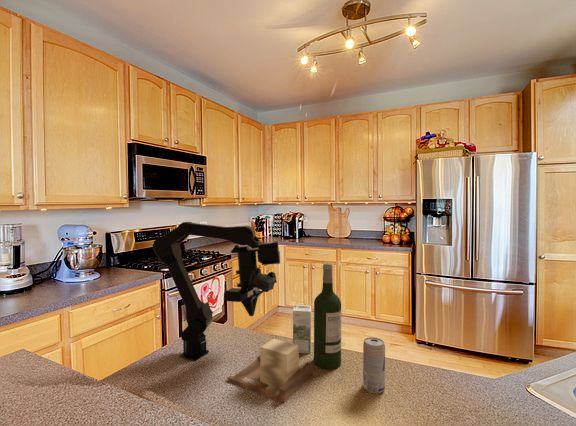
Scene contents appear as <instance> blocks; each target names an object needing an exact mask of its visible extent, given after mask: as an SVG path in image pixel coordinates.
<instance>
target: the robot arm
mask: <svg viewBox="0 0 576 426" xmlns="http://www.w3.org/2000/svg"><path fill="white" fill-rule="evenodd" d="M189 236H196V237H204V238H212V239H222V240H225V241H227V242H231V243H233V244H235V245H234V247H233V248H232V249H231V250H230V254H237V263H238V264H237V265H238V266H237V267H238V269H237V270H235V273H236V275H238V276H239V282H238V283H236V287H237V288H236V287H231V288H229V289H227V290H225V291H224V292H223V301H224V302H231V303H232V302H233V303H241V304H242V306H243V308H244V309H245V310H246V312H247V314H248V316H249V317H253V316H254V315H255V311H256V309H257V304H258V303H257V302H258V299H259V297H260V296H261V295H262V294H263V293H268V292H269V291H271V290H273V289H274V288H275V284H276V283H277V282H278V281H277V277H276V273H275V272H273V271H270V272H268V273H262V270H261V267H258V263H259V264H261V265H262V266H267V265H269V266H270V265H279V264H280V265H281V251H280V247H279V242H278V241H273V242H270V243H269V242H266V243H263V242H262V241H261V240H260V239H259V238H258V237H257V235H256V231H255V229H254V228H253V227H252V226H250V225H237V226H221V225H212V224H205V223H204V224H203V223H196V222H192V221H184V222H181V223H180V224H179V225H178V226H177V227H175V228H174V229H172V230H170V231H169V232H166V234H164V235H163V236H159V237H157V238H155V239H154V241H153V244H152V246H151V247H152V250H153V252H154V254H155V255H156V256H157V258H158V260H160V261H161V263H163V264H164V265H165V266H166V267H167V269H168V271H169V273H170V276H171V278H172V280H173V282H174V284H175V287H176V289H177V291H178V293H179V296H180V298H181V300H182V302H183V305H184V307H185V320H186V324H187V326H186V328H185V329H183V331H182V332H181V333H180V338H181V340H182V342H183V344H182V345H183V352H182V353H181V354H179V357H180V358H184V359H187V360H190V361H197V360H199V359H201V358H202V357H203V356H205V355H207V354H208V353H209V352H210V350H209V349H207V340H206V334H205V333H204V332H206V330H207V329H208V327H209V326H210V325H211V324H212V322H213V318H214V317H213V314H214V311H213V310H212V309H211V307H210V303H209V301H206V302H203V301H202V300H201V299H200V297H199V295H198V293H197V291H196V289H195V287H194V284H193V282H192V279H191V278H190V276H189V273H188V271H187V269H186V267H185V265H184V262H183V259H182V249H181V244H182V243H183V242H184V241H186V239H187V238H188V237H189ZM257 262H258V263H257Z"/></svg>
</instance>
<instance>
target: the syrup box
mask: <svg viewBox="0 0 576 426" xmlns="http://www.w3.org/2000/svg"><path fill="white" fill-rule="evenodd" d="M292 344H295V345H299V354H311V352H312V306H311V305H304V304H303V305H302V304H300V305H299V304H298V305H297V304H294V306H293V308H292Z"/></svg>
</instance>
